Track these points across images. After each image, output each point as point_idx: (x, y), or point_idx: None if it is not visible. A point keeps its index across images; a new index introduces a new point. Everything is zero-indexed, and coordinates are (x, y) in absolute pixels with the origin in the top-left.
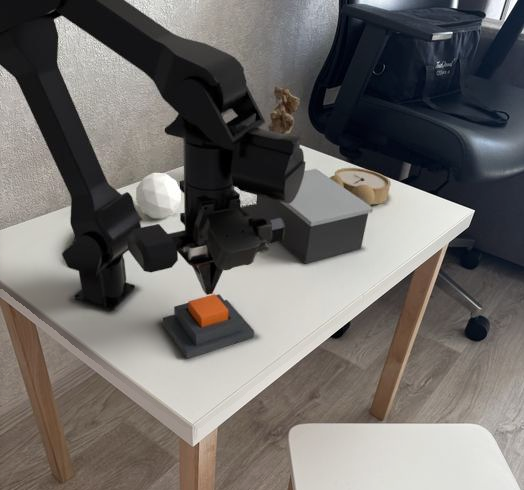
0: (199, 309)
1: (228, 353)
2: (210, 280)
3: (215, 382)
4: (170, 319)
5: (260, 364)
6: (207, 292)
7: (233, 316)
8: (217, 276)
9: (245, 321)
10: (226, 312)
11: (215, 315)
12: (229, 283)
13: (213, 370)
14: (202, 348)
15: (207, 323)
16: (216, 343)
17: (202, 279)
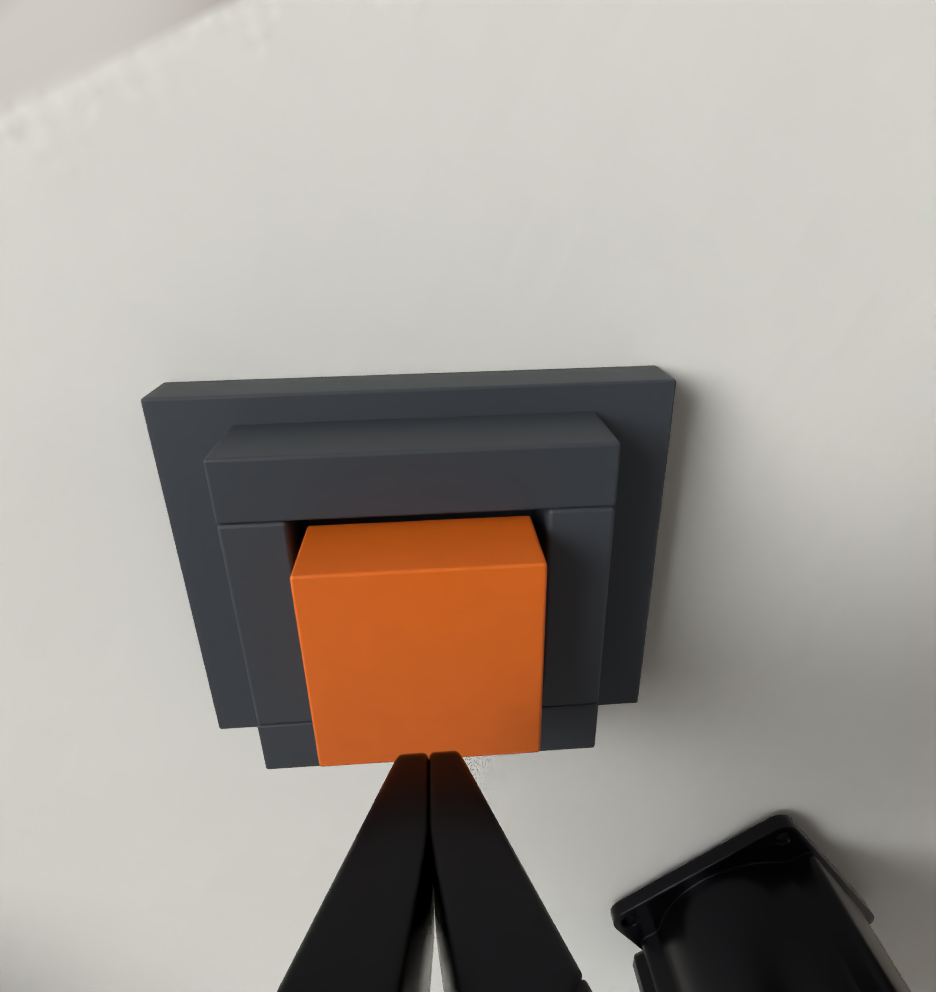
0: (511, 653)
1: (392, 305)
2: (421, 911)
3: (613, 49)
4: (606, 677)
5: (214, 80)
6: (460, 771)
7: (257, 536)
8: (341, 964)
9: (170, 512)
10: (312, 565)
11: (415, 561)
12: (149, 838)
13: (563, 184)
14: (561, 380)
15: (483, 529)
16: (455, 385)
17: (568, 958)
